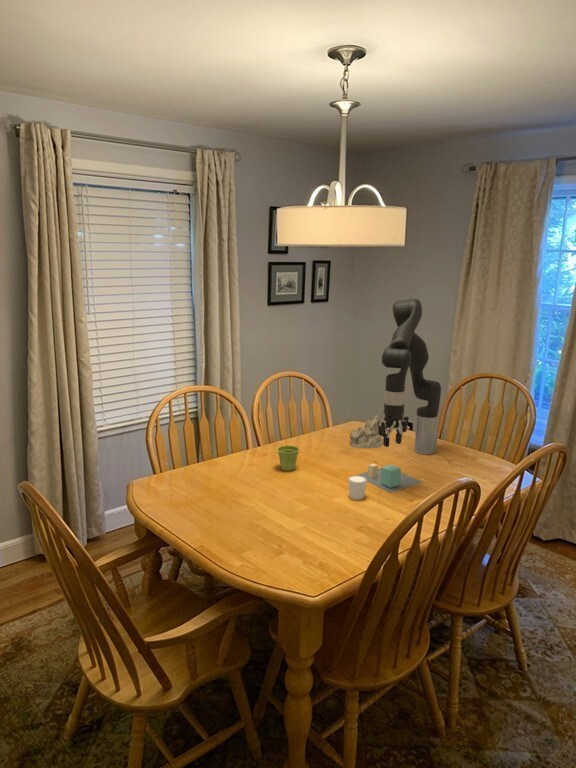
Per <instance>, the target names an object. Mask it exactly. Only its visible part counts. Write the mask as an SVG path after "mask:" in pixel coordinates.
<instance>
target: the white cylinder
mask: <svg viewBox="0 0 576 768" xmlns="http://www.w3.org/2000/svg"><path fill="white" fill-rule="evenodd" d="M347 481H348V482H347V483H348V496H349V498H350V499H352V500H358V501H359V500H362V499H364V498H365V494H366V488H367V479H366V478H365V477H362V476H355V475H351V476H349V477H348V478H347Z"/></svg>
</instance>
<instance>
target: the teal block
mask: <svg viewBox="0 0 576 768" xmlns="http://www.w3.org/2000/svg"><path fill="white" fill-rule="evenodd" d="M401 472H402V468H401V467H398V466H396V465H393V464H388V465H385V466H381V484H384V485H386V486H388V487H390V488H391V487H394V486H398V485H400V478H401Z"/></svg>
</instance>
